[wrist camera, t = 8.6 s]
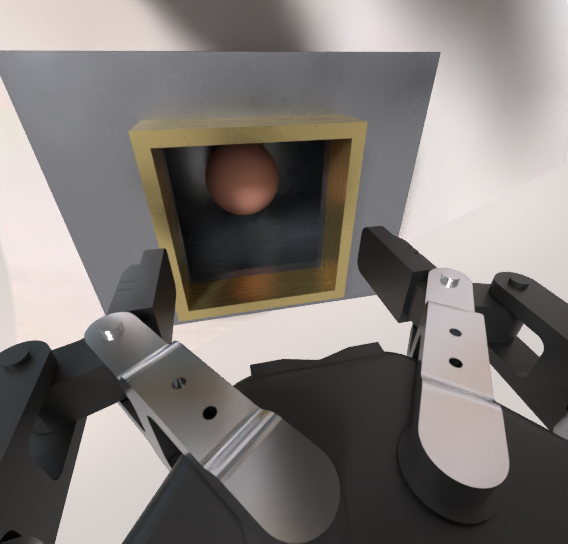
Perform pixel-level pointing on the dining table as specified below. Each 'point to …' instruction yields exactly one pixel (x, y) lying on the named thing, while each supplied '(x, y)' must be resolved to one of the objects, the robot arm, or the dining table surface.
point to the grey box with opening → (197, 150)
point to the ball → (242, 177)
